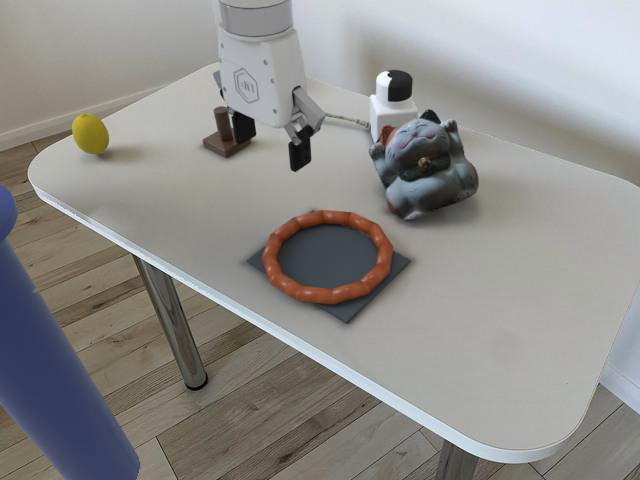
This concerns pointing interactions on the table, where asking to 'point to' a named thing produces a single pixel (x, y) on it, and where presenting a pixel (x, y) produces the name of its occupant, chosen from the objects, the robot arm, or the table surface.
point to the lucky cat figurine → (423, 166)
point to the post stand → (223, 135)
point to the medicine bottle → (391, 101)
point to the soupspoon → (362, 123)
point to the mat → (331, 263)
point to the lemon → (90, 134)
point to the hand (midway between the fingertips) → (272, 152)
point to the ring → (327, 294)
